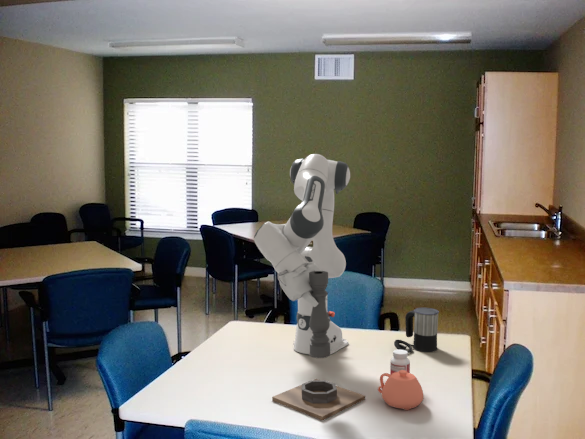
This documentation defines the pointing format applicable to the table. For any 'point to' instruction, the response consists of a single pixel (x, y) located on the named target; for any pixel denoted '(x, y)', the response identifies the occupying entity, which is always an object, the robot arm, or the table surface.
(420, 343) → the milk frother
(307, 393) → the candle dish
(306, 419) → the table surface
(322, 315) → the candle holder
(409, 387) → the sugar bowl
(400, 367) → the pill bottle
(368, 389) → the table surface
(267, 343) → the table surface
